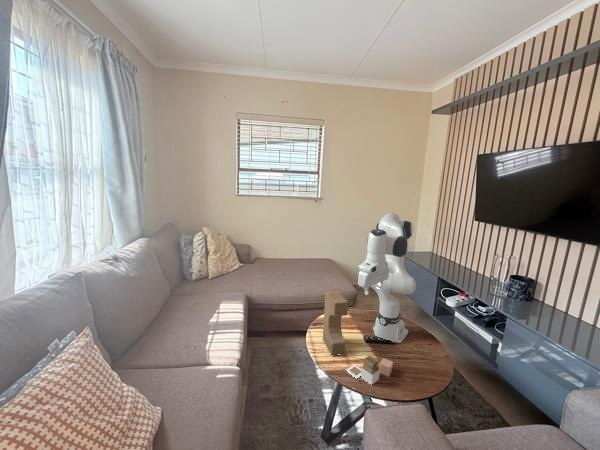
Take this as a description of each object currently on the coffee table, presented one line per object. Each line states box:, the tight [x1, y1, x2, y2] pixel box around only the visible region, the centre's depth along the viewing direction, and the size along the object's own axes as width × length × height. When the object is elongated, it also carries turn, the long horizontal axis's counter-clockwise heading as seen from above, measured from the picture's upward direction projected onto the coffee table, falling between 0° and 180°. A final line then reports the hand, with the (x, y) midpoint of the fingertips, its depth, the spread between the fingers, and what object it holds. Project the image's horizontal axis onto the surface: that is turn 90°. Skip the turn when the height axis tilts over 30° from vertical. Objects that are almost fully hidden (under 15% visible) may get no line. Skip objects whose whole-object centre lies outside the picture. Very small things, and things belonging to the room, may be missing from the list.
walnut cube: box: [362, 354, 380, 375], centre depth 127 cm, size 5×5×5 cm
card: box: [345, 364, 362, 380], centre depth 132 cm, size 7×7×1 cm
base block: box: [360, 367, 381, 386], centre depth 128 cm, size 6×6×5 cm
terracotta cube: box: [378, 357, 394, 377], centre depth 133 cm, size 5×5×5 cm
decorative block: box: [322, 289, 349, 356], centre depth 148 cm, size 15×8×30 cm, turn 14°
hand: (372, 291), depth 131 cm, fingers open, 8 cm apart
